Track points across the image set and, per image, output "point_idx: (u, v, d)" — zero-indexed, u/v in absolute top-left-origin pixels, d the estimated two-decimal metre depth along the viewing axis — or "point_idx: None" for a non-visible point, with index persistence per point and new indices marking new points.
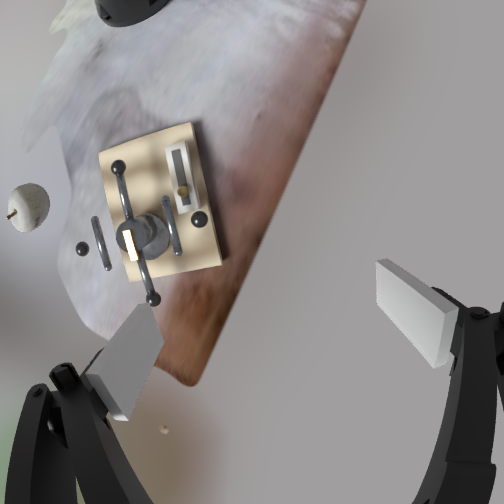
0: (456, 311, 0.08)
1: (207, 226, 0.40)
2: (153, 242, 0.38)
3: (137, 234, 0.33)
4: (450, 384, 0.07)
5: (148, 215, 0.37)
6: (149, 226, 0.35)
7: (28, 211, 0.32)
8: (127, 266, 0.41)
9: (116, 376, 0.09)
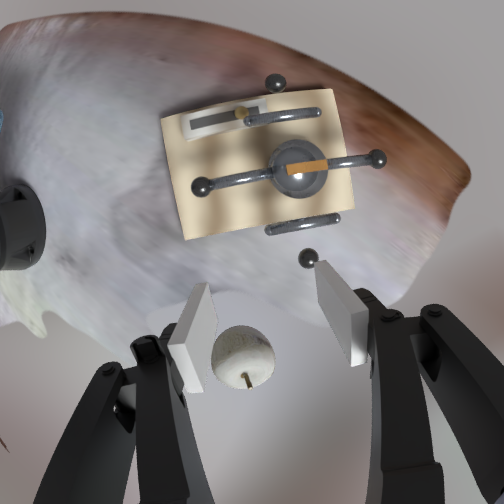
0: (365, 312, 0.10)
1: (286, 97, 0.29)
2: None
3: (292, 156, 0.25)
4: (372, 388, 0.08)
5: (270, 161, 0.30)
6: None
7: (246, 351, 0.31)
8: (335, 208, 0.33)
9: (194, 347, 0.11)
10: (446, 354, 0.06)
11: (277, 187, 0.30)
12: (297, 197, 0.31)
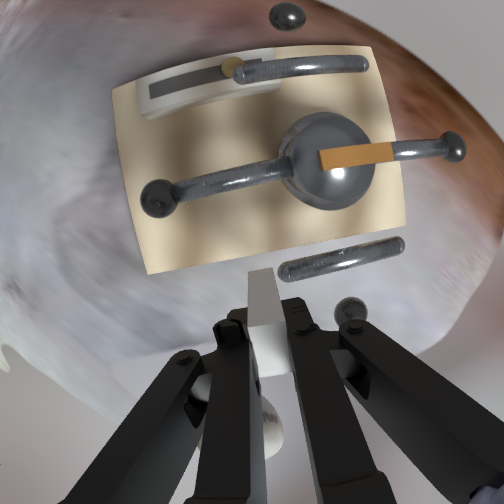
0: (282, 323, 0.10)
1: (305, 52, 0.16)
2: None
3: (330, 135, 0.12)
4: None
5: (282, 148, 0.17)
6: None
7: None
8: (379, 224, 0.20)
9: None
10: (374, 373, 0.07)
11: (295, 192, 0.18)
12: (327, 208, 0.18)
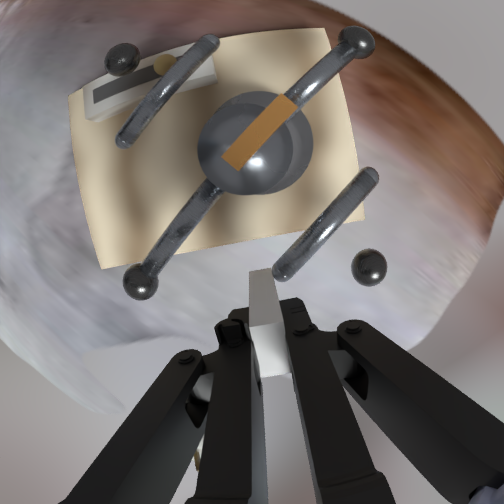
0: (281, 324, 0.10)
1: (248, 40, 0.15)
2: None
3: (223, 133, 0.11)
4: (297, 402, 0.09)
5: None
6: None
7: None
8: None
9: None
10: (372, 373, 0.07)
11: None
12: (288, 183, 0.17)
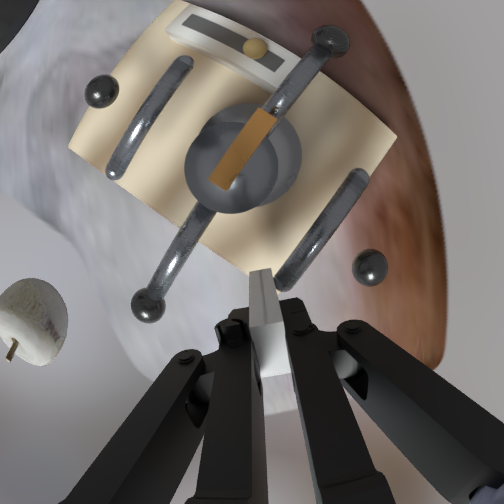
0: (280, 324, 0.10)
1: (333, 90, 0.17)
2: None
3: (207, 155, 0.12)
4: (297, 402, 0.09)
5: None
6: None
7: (24, 323, 0.16)
8: None
9: None
10: (372, 373, 0.07)
11: None
12: (281, 192, 0.17)
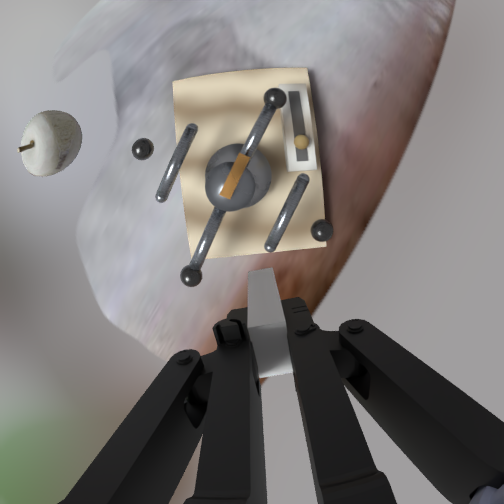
0: (282, 323, 0.10)
1: (317, 195, 0.30)
2: None
3: (216, 182, 0.23)
4: None
5: None
6: None
7: (53, 142, 0.22)
8: (192, 237, 0.31)
9: None
10: (374, 373, 0.07)
11: None
12: (262, 195, 0.28)
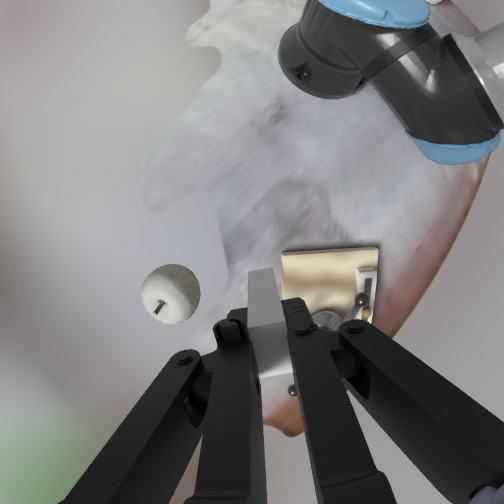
0: (283, 323, 0.10)
1: None
2: (323, 325, 0.42)
3: None
4: None
5: None
6: None
7: (189, 309, 0.36)
8: None
9: None
10: (374, 373, 0.07)
11: None
12: None
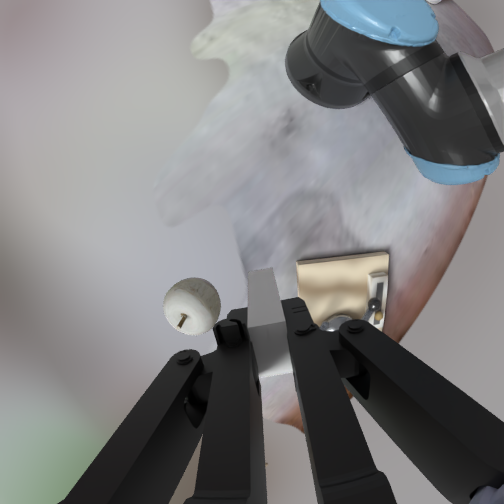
0: (282, 323, 0.10)
1: None
2: (338, 328, 0.43)
3: None
4: None
5: None
6: None
7: (212, 320, 0.38)
8: None
9: None
10: (374, 373, 0.07)
11: None
12: None
